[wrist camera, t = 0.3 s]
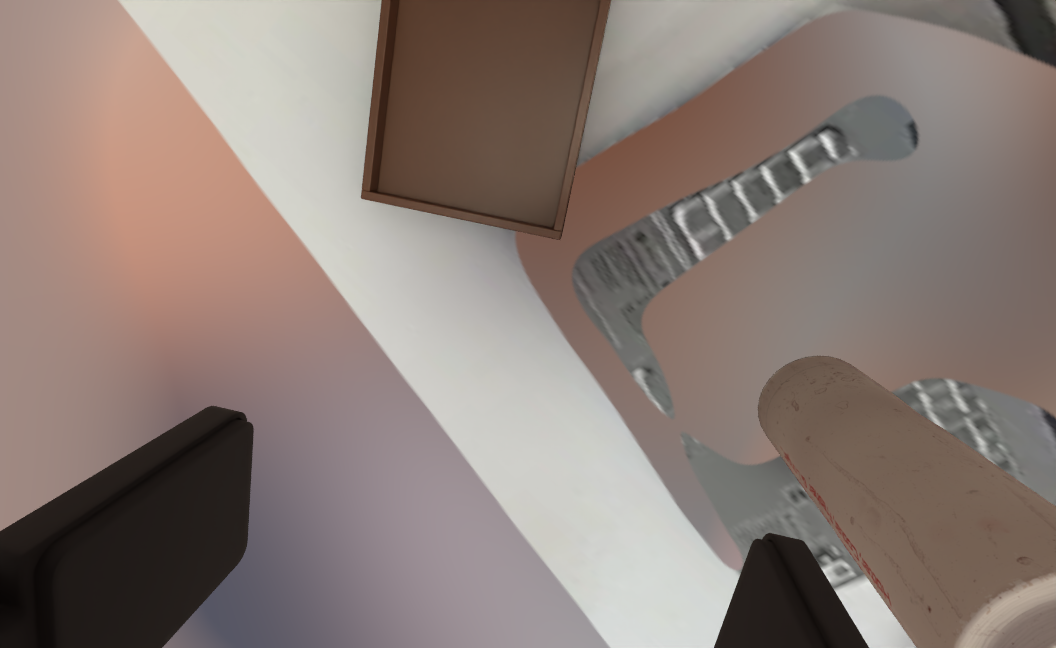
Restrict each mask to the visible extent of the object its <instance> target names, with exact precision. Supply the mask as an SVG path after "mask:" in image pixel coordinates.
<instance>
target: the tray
mask: <svg viewBox="0 0 1056 648" xmlns="http://www.w3.org/2000/svg"><path fill="white" fill-rule="evenodd" d="M610 4H611V0H382V3H381V13H380V22H379V32H378V41H377V51H376V60H375V70H374V79H373V89H372V98H371V108H370V117H369V127H368V136H367V145H366V155H365V164H364V174H363V183H362V193H361V198H362V199H365V200H370V201H375V202H380V203H385V204H389V205H394V206H399V207H404V208H409V209H413V210H418V211H423V212H428V213H433V214H437V215H442V216H447V217H452V218H457V219H461V220H466V221H471V222H476V223H481V224H485V225H490V226H495V227H500V228H504V229H509V230H514V231H519V232H524V233H529V234H534V235H539V236H543V237H548V238H552V239H557V240H560V239H561V236H562V232H563V227H564V222H565V217H566V213H567V208H568V203H569V198H570V194H571V188H572V184H573V179H574V175H575V170H576V165H577V160H578V156H579V151H580V146H581V141H582V137H583V132H584V127H585V122H586V118H587V113H588V108H589V103H590V99H591V94H592V89H593V84H594V80H595V75H596V70H597V66H598V61H599V56H600V51H601V47H602V42H603V37H604V32H605V28H606V23H607V18H608V13H609V9H610Z"/></svg>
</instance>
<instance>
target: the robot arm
mask: <svg viewBox="0 0 1056 648" xmlns="http://www.w3.org/2000/svg"><path fill="white" fill-rule="evenodd" d="M252 449H253V425H252V424H251V423H250V422H247V418H246V416H245V414H244V413H242V412H238V411H234V410H229V409H225V408H221V407H216V406H210V407H207V408H205V409H204V410H202V411H200V412H199V413H197V414H195V415H194V416H192V417H190V418H189V419H187V420H185V421H183V422H182V423H180V424H178V425H177V426H175V427H174V428H172V429H170V430H169V431H167V432H165V433H163V434H162V435H160V436H159V437H157V438H155V439H153V440H152V441H150V442H149V443H147V444H145V445H144V446H142V447H141V448H139V449H137V450H135V451H134V452H132V453H130V454H128V455H127V456H125V457H124V458H122V459H120V460H118V461H117V462H115V463H113V464H112V465H110V466H108V467H107V468H105V469H103V470H102V471H100V472H98V473H97V474H96V475H94V476H92V477H90V478H88V479H87V480H85V481H83V482H82V483H80V484H78V485H77V486H75V487H74V488H72V489H70V490H68V491H67V492H65V493H63V494H62V495H60V496H59V497H57V498H55V499H53V500H52V501H50V502H48V503H47V504H45V505H43V506H42V507H40V508H39V509H37V510H35V511H33V512H32V513H30V514H28V515H27V516H25V517H23V518H22V519H20V520H18V521H17V522H15V523H13V524H12V525H10V526H8V527H7V528H5V529H3V530H2V531H0V648H162V647H163V646H164V645H165V644H166V643H167V642H168V641H169V640H170V638H171V637H172V636H173V635H174V634H175V633H176V632H177V631H178V630H179V628H180V627H181V626H182V625H183V624H184V623H185V622H186V621H187V620H188V619H189V618H190V616H191V615H192V614H193V613H194V612H195V611H196V610H197V609H198V608H199V606H200V605H201V604H202V603H203V602H204V601H205V600H206V599H207V598H208V597H209V595H210V594H211V593H212V592H213V591H214V590H215V589H216V588H217V587H218V585H219V584H220V583H221V582H222V581H223V580H224V579H225V578H226V577H227V576H228V574H229V573H230V572H231V571H232V570H233V569H234V568H235V567H236V566H237V564H238V563H239V562H240V560H241V559H242V557H243V555H244V553H245V550H246V547H247V540H248V523H249V504H250V484H251V468H252ZM714 648H869V647H868V645H867V644H866V642H865V640H864V639H863V637H862V635H861V634H860V632H859V630H858V629H857V627H856V625H855V624H854V622H853V621H852V619H851V617H850V616H849V614H848V612H847V611H846V609H845V607H844V606H843V604H842V602H841V601H840V599H839V597H838V596H837V594H836V592H835V591H834V589H833V588H832V586H831V584H830V583H829V581H828V579H827V578H826V576H825V574H824V573H823V571H822V569H821V568H820V566H819V564H818V563H817V561H816V560H815V558H814V556H813V555H812V553H811V551H810V550H809V548H808V546H807V545H806V544H805V542H804V541H802V540H799V539H794V538H790V537H785V536H781V535H777V534H772V533H768V534H766V535H765V536H764V537H763V539H762V540H761V539H755V540H754V541H753V543H752V545H751V547H750V550H749V553H748V555H747V558H746V561H745V564H744V566H743V569H742V572H741V575H740V577H739V580H738V583H737V586H736V588H735V591H734V594H733V597H732V599H731V602H730V605H729V608H728V610H727V613H726V616H725V619H724V621H723V624H722V627H721V630H720V632H719V635H718V638H717V641H716V643H715V646H714Z"/></svg>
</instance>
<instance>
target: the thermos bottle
mask: <svg viewBox="0 0 1056 648" xmlns="http://www.w3.org/2000/svg"><path fill="white" fill-rule="evenodd" d="M758 417H759V421H760V424H761V427H762V429H763V431H764V432H765V434H766V436H767V437H768V439H769V440H770V441H771V443H772V444H773V445H774V447H775V448H776V450H777V451H778V452H779V454H780V455H781V457H782V458H783V460H784V461H785V462H786V464H787V465H788V467H789V468H790V470H791V471H792V472H793V474H794V475H795V477H796V478H797V479H798V481H799V482H800V484H801V485H802V486H803V488H804V489H805V491H806V492H807V493H808V495H809V496H810V498H811V499H812V500H813V502H814V503H815V504H816V506H817V507H818V508H819V510H820V511H821V512H822V514H823V515H824V517H825V518H826V519H827V521H828V522H829V524H830V525H831V526H832V528H833V529H834V531H835V532H836V534H837V535H838V537H839V538H840V540H841V541H842V543H843V544H844V545H845V547H846V548H847V550H848V551H849V553H850V554H851V555H852V557H853V558H854V560H855V561H856V562H857V564H858V565H859V567H860V568H861V570H862V571H863V572H864V574H865V575H866V577H867V578H868V579H869V581H870V582H871V584H872V585H873V586H874V588H875V589H876V591H877V592H878V593H879V595H880V596H881V598H882V599H883V601H884V602H885V603H886V605H887V606H888V608H889V609H890V610H891V612H892V613H893V615H894V616H895V617H896V619H897V620H898V622H899V623H900V624H901V626H902V627H903V629H904V630H905V631H906V633H907V634H908V636H909V637H910V639H911V640H912V641H913V643H914V644H915V646H916V647H917V648H1056V506H1054V505H1053V504H1051V503H1050V502H1048V501H1047V500H1045V499H1044V498H1043V497H1041V496H1040V495H1038V494H1037V493H1035V492H1034V491H1032V490H1031V489H1030V488H1028V487H1027V486H1025V485H1024V484H1022V483H1021V482H1019V481H1018V480H1017V479H1015V478H1014V477H1012V476H1011V475H1009V474H1008V473H1006V472H1005V471H1004V470H1002V469H1001V468H999V467H998V466H996V465H995V464H993V463H992V462H991V461H989V460H988V459H986V458H985V457H983V456H982V455H981V454H979V453H978V452H976V451H975V450H973V449H972V448H970V447H969V446H968V445H966V444H965V443H963V442H962V441H960V440H959V439H957V438H956V437H955V436H953V435H952V434H950V433H949V432H947V431H946V430H944V429H943V428H941V427H940V426H938V425H936V424H935V423H933V422H931V421H930V420H928V419H926V418H925V417H923V416H922V415H920V414H919V413H917V412H916V411H914V410H913V409H912V408H911V407H909V406H908V405H907V404H906V403H904V402H903V401H902V400H901V399H899V398H898V397H897V396H895V395H894V394H892V393H891V392H890V391H888V390H887V389H885V388H884V387H882V386H881V385H880V384H878V383H876V382H875V381H874V380H872V379H871V378H869V377H868V376H867V375H865V374H863V373H862V372H861V371H859V370H858V369H856V368H855V367H854V366H852V365H851V364H849V363H847V362H845V361H842V360H840V359H837V358H833V357H829V356H812V357H805V358H802V359H798V360H795V361H793V362H791V363H789V364H787V365H785V366H784V367H782V368H781V369H779V370H778V371H777V372H776V373H775V374H774V375H773V376H772V377H771V378H770V379H769V380H768V382H767V383H766V385H765V386H764V388H763V390H762V393H761V396H760V398H759V405H758Z"/></svg>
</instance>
